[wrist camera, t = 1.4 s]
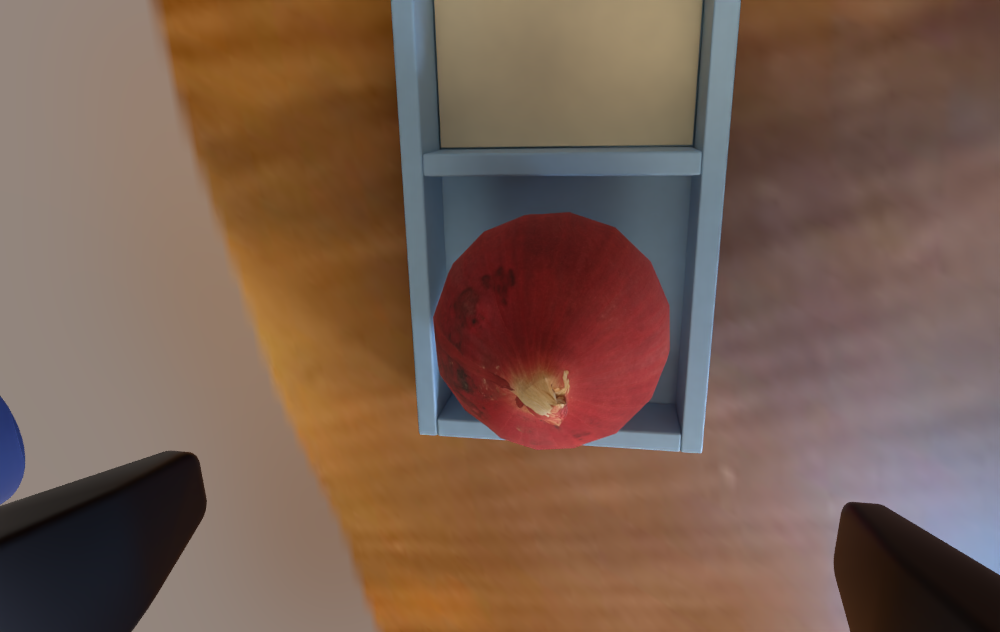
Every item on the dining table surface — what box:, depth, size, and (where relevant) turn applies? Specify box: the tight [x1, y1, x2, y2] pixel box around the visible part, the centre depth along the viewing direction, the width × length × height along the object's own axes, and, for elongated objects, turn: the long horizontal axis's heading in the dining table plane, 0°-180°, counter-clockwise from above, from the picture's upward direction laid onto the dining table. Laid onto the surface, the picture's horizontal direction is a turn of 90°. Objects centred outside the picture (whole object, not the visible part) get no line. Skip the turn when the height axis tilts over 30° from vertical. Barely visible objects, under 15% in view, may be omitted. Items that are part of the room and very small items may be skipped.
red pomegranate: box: [433, 212, 670, 450], centre depth 16 cm, size 6×6×8 cm
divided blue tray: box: [391, 0, 741, 453], centre depth 18 cm, size 8×16×2 cm, turn 1°
